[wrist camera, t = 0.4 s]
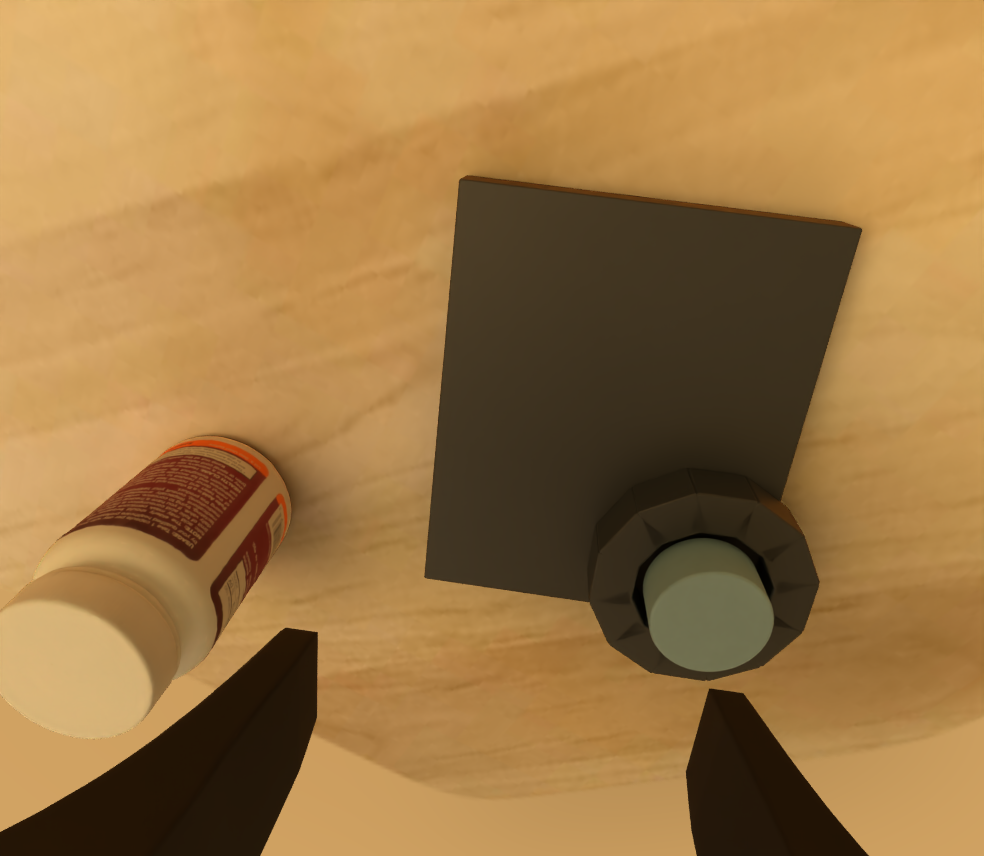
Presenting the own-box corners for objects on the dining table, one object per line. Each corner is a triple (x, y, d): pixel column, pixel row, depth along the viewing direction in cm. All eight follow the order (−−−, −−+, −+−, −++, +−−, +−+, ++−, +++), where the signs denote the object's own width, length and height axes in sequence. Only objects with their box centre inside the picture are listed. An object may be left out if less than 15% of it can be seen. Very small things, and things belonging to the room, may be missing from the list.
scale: (757, 629, 24) (783, 694, 21) (428, 580, 25) (411, 638, 22) (883, 226, 19) (937, 243, 16) (466, 175, 20) (449, 183, 17)
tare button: (742, 639, 21) (757, 681, 20) (633, 622, 21) (638, 663, 20) (771, 545, 20) (789, 582, 18) (654, 528, 20) (662, 564, 18)
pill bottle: (126, 468, 24) (-82, 631, 16) (240, 408, 23) (74, 553, 15) (211, 579, 25) (57, 777, 18) (322, 528, 24) (209, 717, 16)
